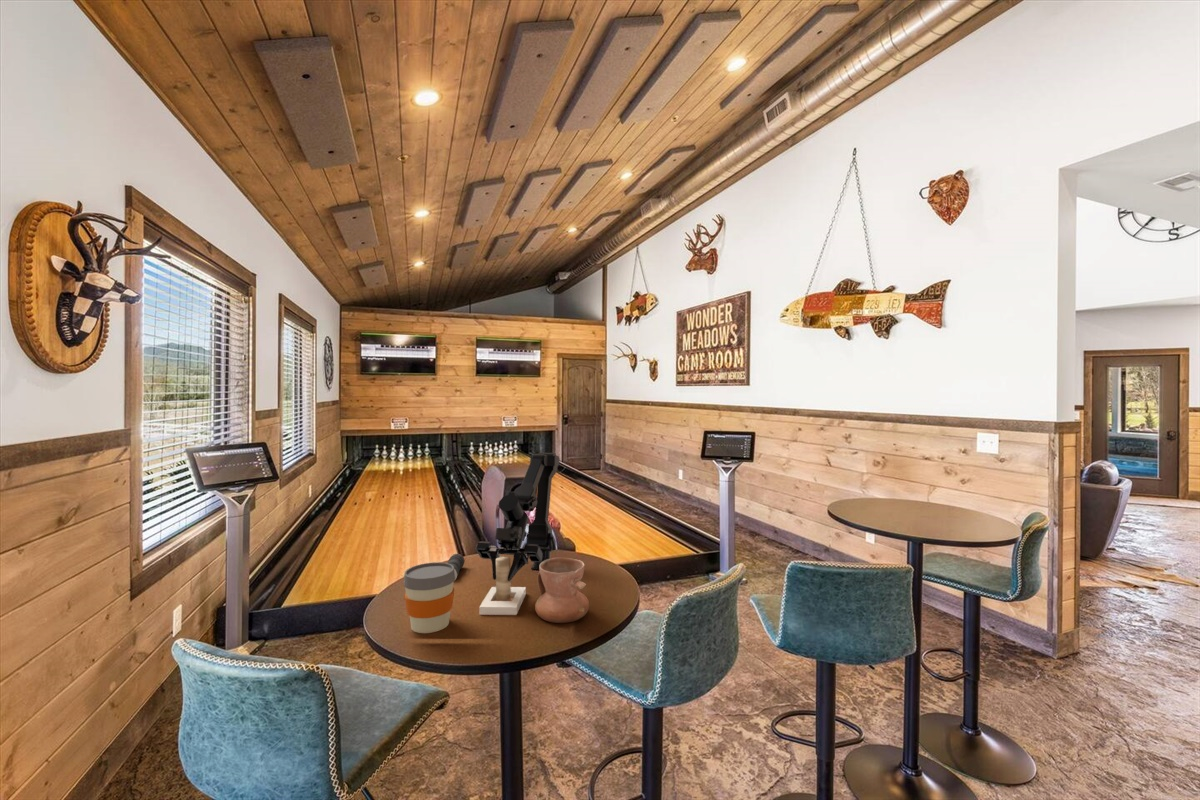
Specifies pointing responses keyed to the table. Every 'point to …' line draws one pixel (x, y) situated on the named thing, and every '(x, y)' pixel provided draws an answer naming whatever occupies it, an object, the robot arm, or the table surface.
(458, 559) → the grey shaker
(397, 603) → the table surface
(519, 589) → the frame
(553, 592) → the ceramic jug
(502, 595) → the cream ridged cylinder
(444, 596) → the reusable coffee cup
